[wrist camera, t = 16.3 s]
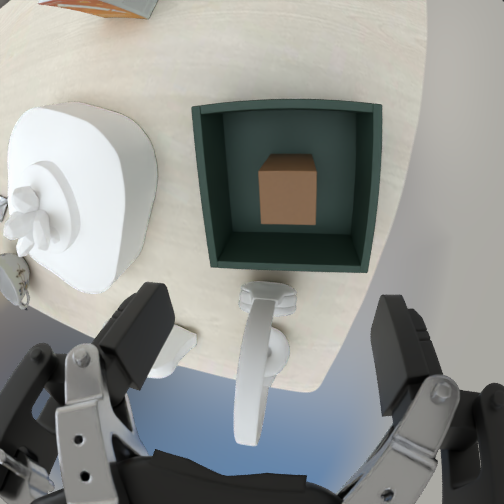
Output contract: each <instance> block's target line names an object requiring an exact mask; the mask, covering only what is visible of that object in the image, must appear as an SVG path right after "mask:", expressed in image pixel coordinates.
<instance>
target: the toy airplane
mask: <svg viewBox="0 0 504 504" xmlns="http://www.w3.org/2000/svg"><path fill="white" fill-rule="evenodd" d="M7 203H8V198H7V199H5V198H3V197H1V196H0V222H2V218H3V215H4V212H5V209H6V206H7Z"/></svg>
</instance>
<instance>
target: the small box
mask: <svg viewBox="0 0 504 504" xmlns="http://www.w3.org/2000/svg"><path fill="white" fill-rule="evenodd" d="M157 1H158V0H39V2H38V4H40V5H49V6H55V7H61V8H66V9H71V10H76V11H81V12H85V13H89V14H93V15H97V16H100V17H104V18H109V17H124V18H140V19H149V17H150V15H151V13H152V11H153V9H154V7H155V5H156V3H157Z"/></svg>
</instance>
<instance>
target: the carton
mask: <svg viewBox="0 0 504 504" xmlns="http://www.w3.org/2000/svg"><path fill="white" fill-rule="evenodd" d="M258 177H259V195H260V214H261V224H294V225H316V199H317V171H316V167H315V164H314V160H313V157H312V154H270V155H269V157H268V158H267V160H266V161H265V162H264V164H263V165H262V167H261V168H260V170H259V171H258Z"/></svg>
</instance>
